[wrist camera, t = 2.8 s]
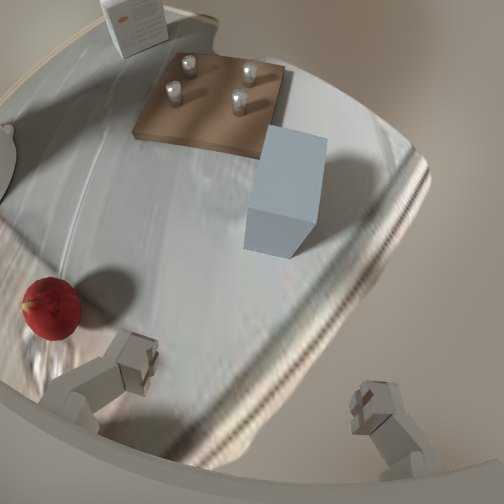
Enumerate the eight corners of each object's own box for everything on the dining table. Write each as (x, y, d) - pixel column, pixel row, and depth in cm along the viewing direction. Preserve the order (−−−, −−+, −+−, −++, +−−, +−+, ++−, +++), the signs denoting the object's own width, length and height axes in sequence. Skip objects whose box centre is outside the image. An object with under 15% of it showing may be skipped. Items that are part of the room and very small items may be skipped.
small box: (157, 27, 37) (148, -21, 27) (169, 40, 36) (161, -13, 26) (114, 47, 36) (98, -1, 26) (123, 60, 35) (106, 8, 25)
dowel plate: (135, 139, 31) (124, 115, 27) (178, 60, 35) (175, 36, 31) (262, 160, 31) (266, 135, 27) (283, 74, 35) (288, 50, 31)
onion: (67, 273, 27) (23, 254, 19) (104, 306, 26) (62, 297, 19) (42, 316, 25) (-6, 308, 18) (76, 351, 25) (30, 355, 17)
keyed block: (243, 248, 29) (248, 207, 19) (258, 184, 30) (268, 124, 21) (289, 259, 29) (316, 223, 19) (301, 194, 30) (327, 138, 21)
